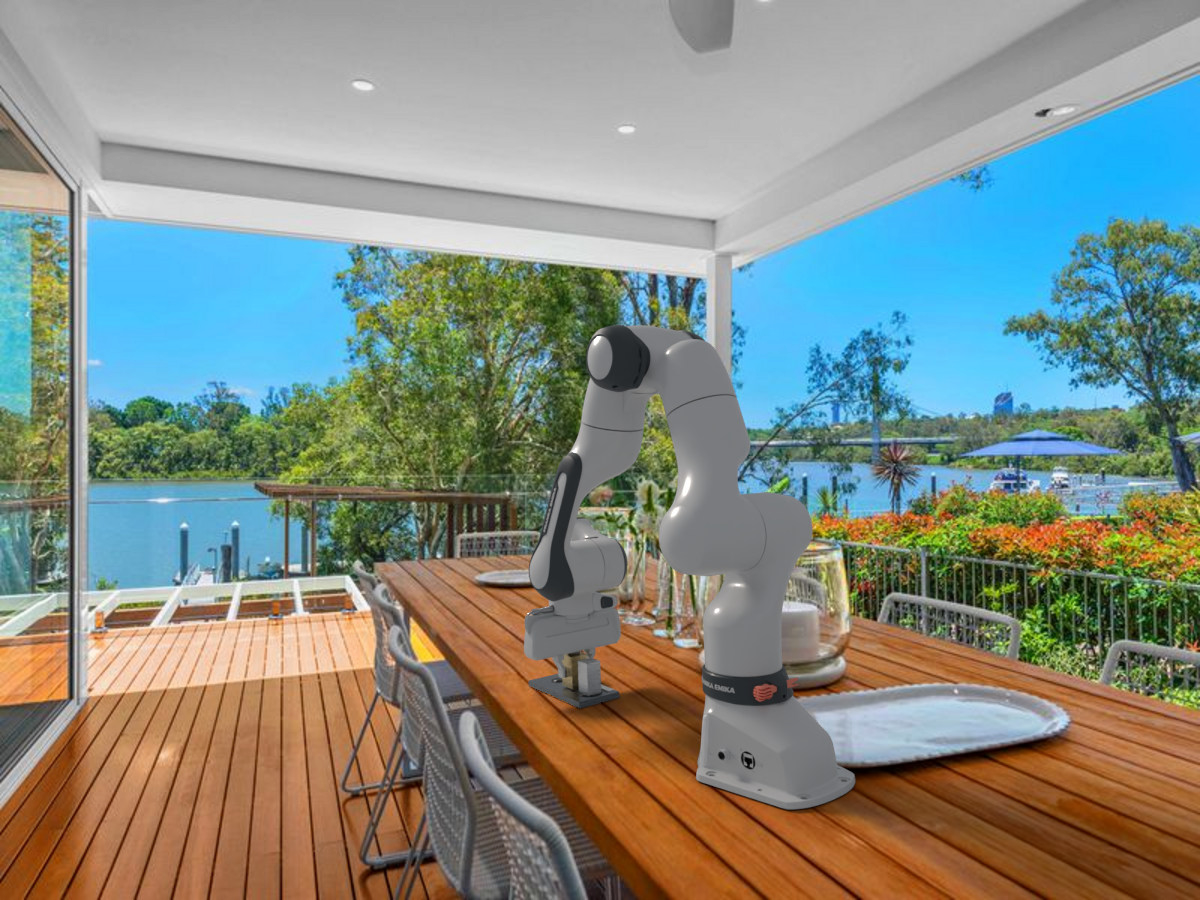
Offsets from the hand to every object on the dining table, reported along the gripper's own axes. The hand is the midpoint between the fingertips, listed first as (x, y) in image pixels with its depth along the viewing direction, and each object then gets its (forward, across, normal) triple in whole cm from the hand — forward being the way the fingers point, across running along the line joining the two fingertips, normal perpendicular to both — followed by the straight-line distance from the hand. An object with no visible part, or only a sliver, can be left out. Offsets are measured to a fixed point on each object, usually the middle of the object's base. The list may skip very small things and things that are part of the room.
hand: (574, 674), depth 151 cm
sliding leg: (+2, 0, 0) cm, 2 cm away
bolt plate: (+4, 0, +1) cm, 4 cm away
